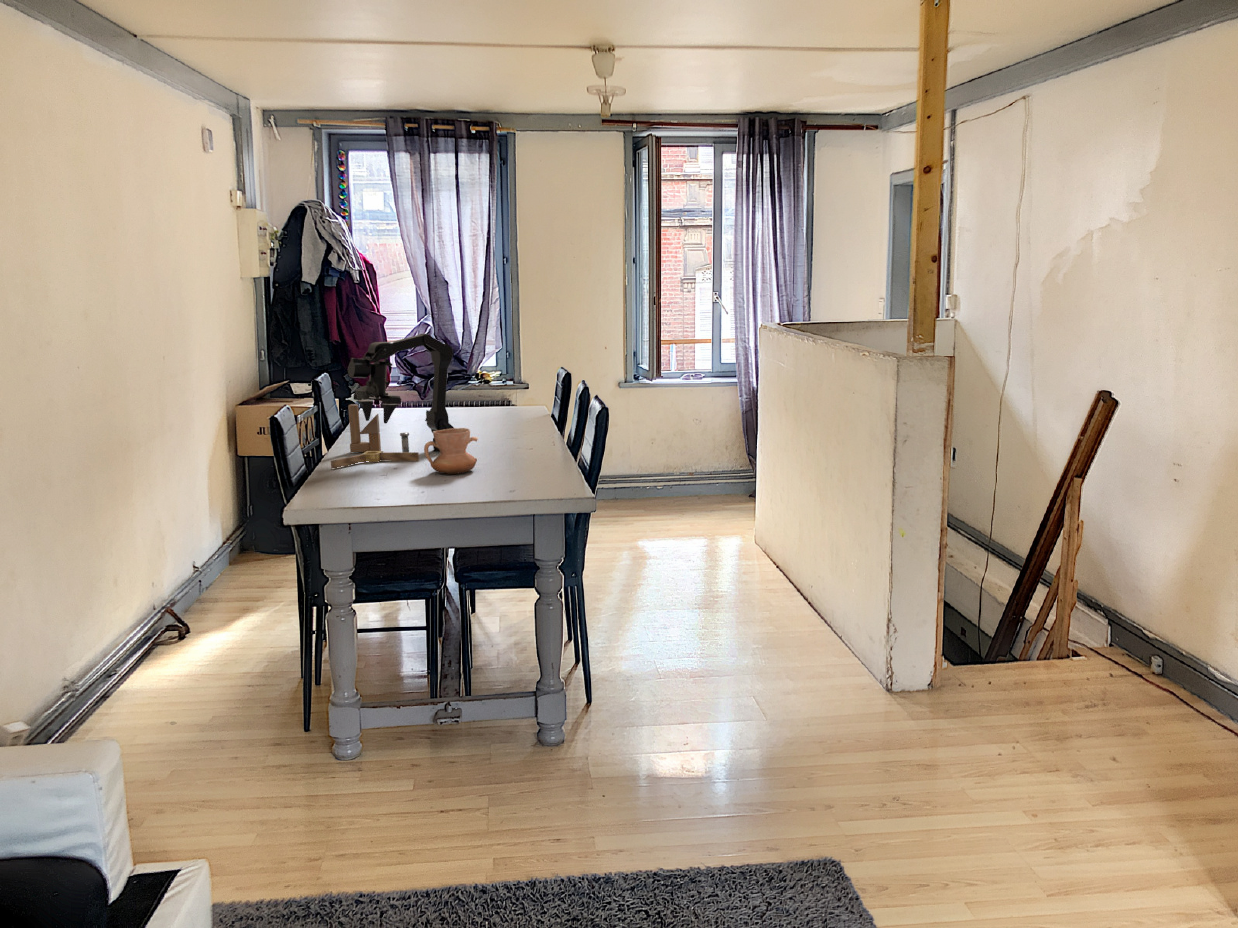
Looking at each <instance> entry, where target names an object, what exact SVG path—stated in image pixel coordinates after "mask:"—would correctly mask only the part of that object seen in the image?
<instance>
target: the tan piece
mask: <svg viewBox="0 0 1238 928" xmlns="http://www.w3.org/2000/svg"><path fill="white" fill-rule="evenodd" d="M419 454H420V453H419V452H417V451H416V452H415V451H414V452H410V451H409V452H401V451H399V452H398V451H397V452H394V451H393V452H392V451H391V452H390V451H389V452H386V451H383V450H381V451H366V452H364V453H360V454H357V455H352V456H349V457H348V456H347V457H342V458H337V459H333V460H330V468H337V467H341V466H348V465H351V464H355V463H358V462H366V461H369V462H378V461H380V460H391V461H390V462H419V461H420V455H419ZM380 462H381V461H380ZM378 463H379V462H378ZM348 467H349V466H348Z"/></svg>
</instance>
